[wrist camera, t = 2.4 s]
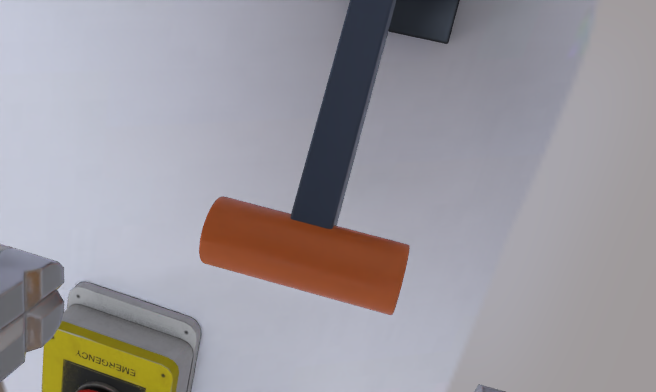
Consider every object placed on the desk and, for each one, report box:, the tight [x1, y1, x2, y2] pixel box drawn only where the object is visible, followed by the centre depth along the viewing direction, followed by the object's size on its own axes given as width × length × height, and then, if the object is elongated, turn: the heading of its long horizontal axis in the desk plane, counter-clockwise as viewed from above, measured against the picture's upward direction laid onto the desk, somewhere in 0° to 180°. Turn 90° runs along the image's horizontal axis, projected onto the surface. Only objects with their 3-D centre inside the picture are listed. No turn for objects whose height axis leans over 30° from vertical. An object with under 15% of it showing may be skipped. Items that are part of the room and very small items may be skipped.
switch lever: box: [199, 0, 409, 315], centre depth 14 cm, size 13×5×2 cm, turn 169°
